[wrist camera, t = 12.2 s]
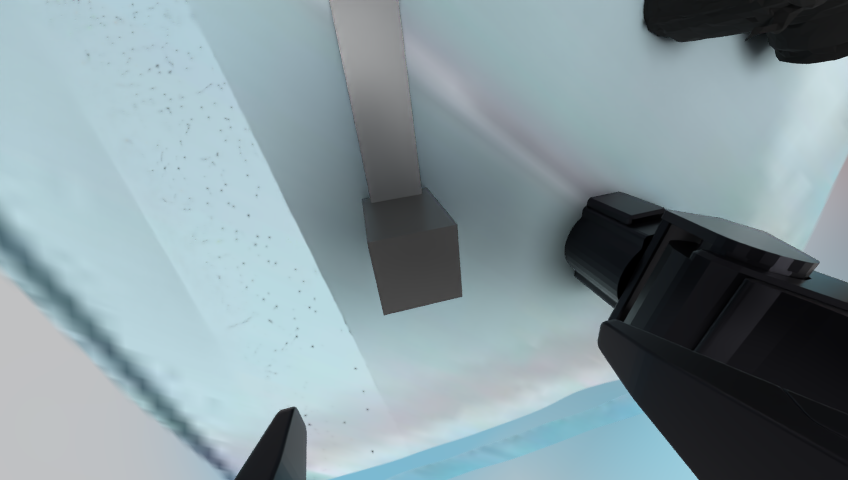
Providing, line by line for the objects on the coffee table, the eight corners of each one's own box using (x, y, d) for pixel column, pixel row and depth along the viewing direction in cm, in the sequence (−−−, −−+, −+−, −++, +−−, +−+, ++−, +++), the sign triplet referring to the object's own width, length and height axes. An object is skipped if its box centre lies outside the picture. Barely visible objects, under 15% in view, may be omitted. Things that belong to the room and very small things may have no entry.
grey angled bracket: (433, 244, 21) (462, 296, 15) (374, 256, 20) (383, 315, 15) (363, -362, 10) (378, -856, 5) (235, -373, 10) (96, -948, 4)
